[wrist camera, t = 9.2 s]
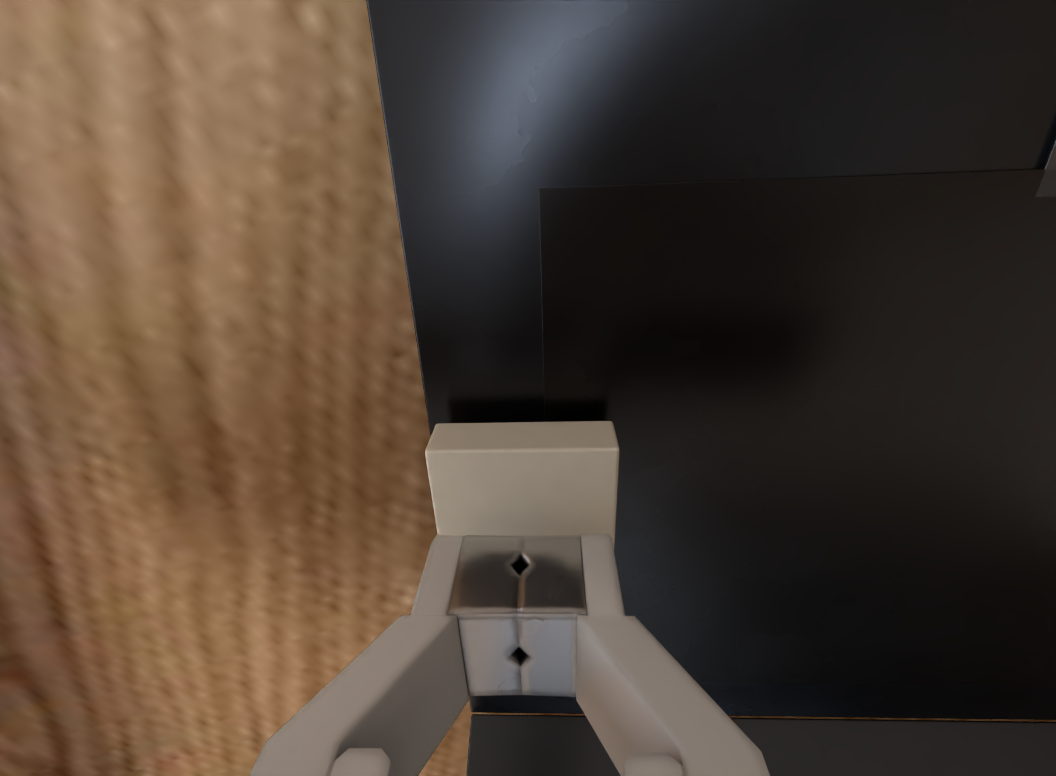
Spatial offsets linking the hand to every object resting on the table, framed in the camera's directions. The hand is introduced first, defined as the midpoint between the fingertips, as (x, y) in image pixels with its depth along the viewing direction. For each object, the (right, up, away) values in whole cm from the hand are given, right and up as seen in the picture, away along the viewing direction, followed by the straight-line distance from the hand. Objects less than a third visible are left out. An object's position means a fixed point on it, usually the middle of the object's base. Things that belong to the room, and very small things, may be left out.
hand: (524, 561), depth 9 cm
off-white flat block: (0, +1, +2) cm, 2 cm away
